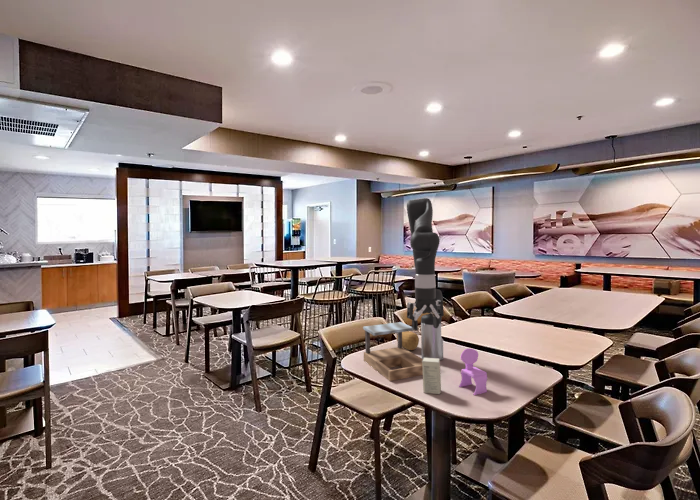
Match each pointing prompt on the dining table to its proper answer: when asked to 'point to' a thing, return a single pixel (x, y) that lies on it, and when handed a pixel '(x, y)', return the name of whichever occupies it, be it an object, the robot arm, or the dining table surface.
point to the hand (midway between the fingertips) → (425, 328)
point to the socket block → (392, 353)
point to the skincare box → (431, 375)
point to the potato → (409, 340)
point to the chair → (472, 372)
